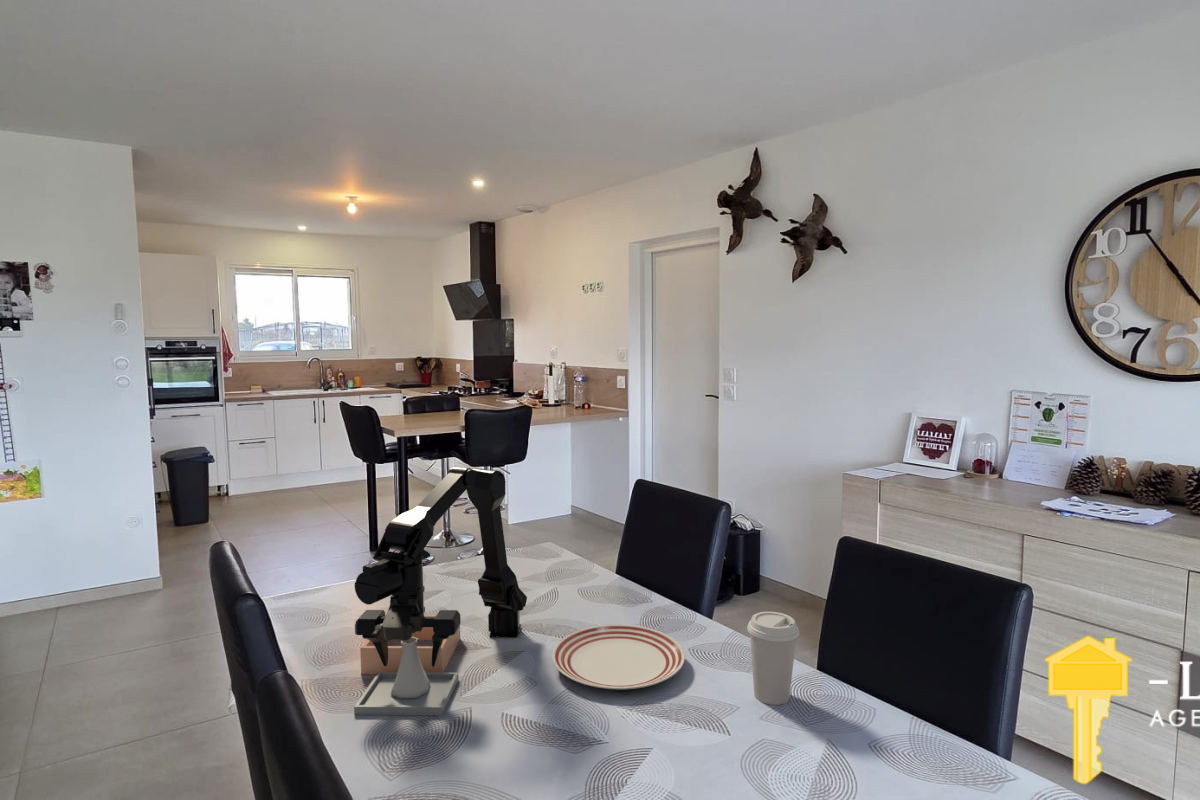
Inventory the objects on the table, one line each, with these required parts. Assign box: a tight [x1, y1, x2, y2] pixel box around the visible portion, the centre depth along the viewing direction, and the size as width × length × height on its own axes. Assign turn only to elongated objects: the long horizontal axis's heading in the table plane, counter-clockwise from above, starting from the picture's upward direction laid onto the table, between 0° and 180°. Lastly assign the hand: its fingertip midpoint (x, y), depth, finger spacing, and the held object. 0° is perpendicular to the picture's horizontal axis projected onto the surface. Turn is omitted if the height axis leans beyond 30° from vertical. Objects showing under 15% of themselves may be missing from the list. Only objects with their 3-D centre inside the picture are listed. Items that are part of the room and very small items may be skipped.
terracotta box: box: [359, 614, 461, 675], centre depth 147 cm, size 17×17×6 cm
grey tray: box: [353, 672, 459, 716], centre depth 131 cm, size 16×13×2 cm
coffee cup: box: [746, 611, 800, 706], centre depth 130 cm, size 10×10×15 cm
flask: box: [390, 637, 430, 699], centre depth 131 cm, size 7×7×10 cm
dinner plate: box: [551, 623, 686, 690], centre depth 143 cm, size 28×27×3 cm
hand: (409, 665), depth 131 cm, fingers open, 9 cm apart
